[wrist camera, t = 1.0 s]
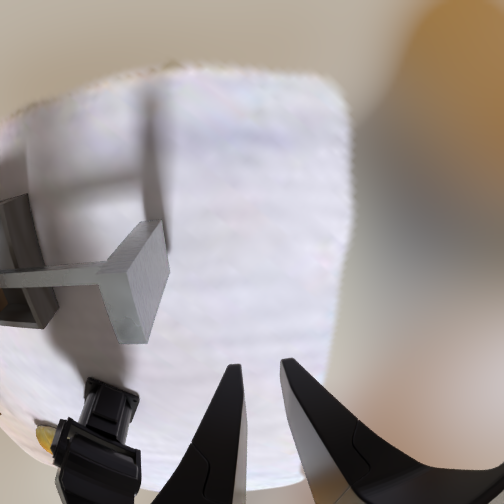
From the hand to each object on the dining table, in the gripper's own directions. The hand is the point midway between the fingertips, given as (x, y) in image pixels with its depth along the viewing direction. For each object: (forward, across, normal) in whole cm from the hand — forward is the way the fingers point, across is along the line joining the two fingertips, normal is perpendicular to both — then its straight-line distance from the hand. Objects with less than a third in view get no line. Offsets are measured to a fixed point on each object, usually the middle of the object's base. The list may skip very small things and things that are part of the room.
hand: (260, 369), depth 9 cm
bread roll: (+14, +35, +34) cm, 51 cm away
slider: (+12, +20, 0) cm, 23 cm away
